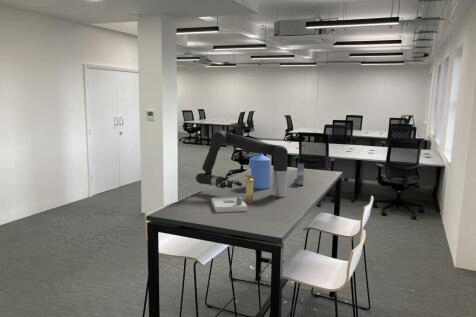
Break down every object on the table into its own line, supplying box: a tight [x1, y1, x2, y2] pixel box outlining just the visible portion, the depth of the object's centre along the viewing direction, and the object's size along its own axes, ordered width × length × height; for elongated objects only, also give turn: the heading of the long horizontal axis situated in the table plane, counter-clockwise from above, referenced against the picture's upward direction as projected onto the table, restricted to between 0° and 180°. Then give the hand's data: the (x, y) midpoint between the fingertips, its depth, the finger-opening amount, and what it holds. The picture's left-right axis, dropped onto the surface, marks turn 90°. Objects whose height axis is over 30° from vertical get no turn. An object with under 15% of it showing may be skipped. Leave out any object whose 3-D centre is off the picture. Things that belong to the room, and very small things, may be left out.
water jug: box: [248, 153, 272, 190], centre depth 281 cm, size 16×16×28 cm
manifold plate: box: [211, 196, 248, 213], centre depth 228 cm, size 22×18×7 cm
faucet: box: [296, 163, 305, 186], centre depth 300 cm, size 6×17×30 cm
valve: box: [244, 174, 254, 205], centre depth 236 cm, size 6×5×17 cm
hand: (236, 185), depth 244 cm, fingers open, 8 cm apart
